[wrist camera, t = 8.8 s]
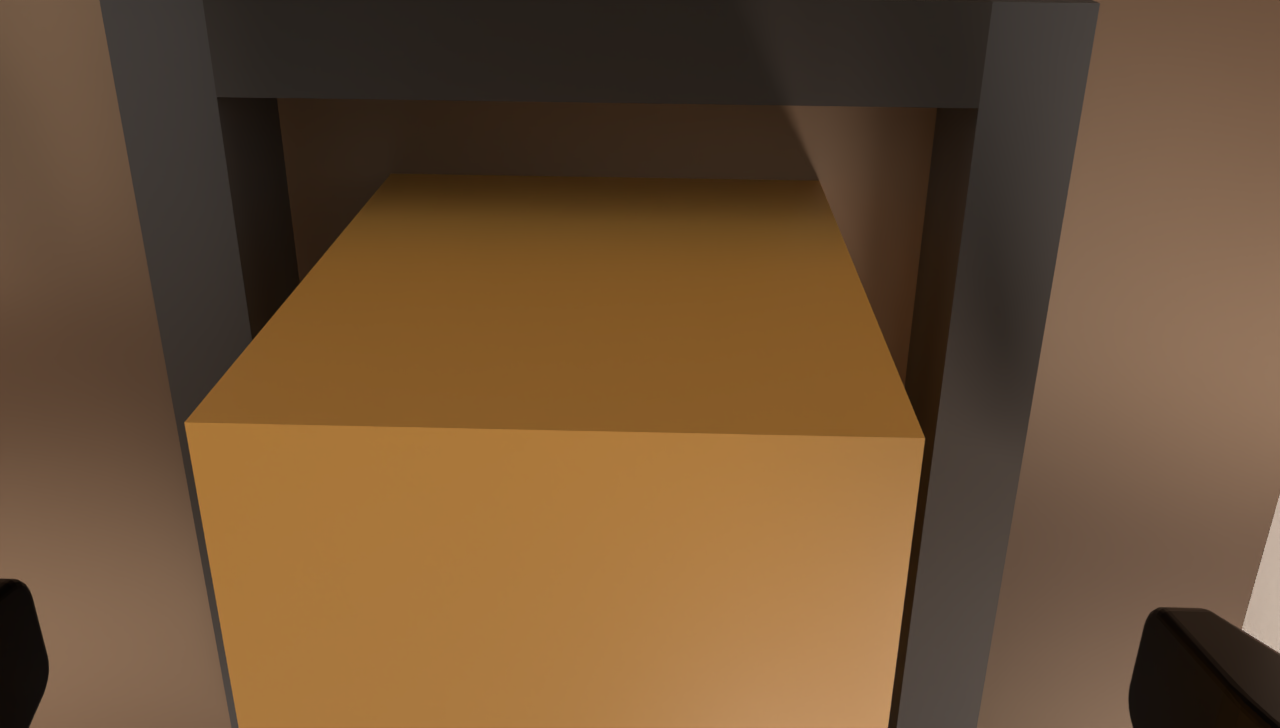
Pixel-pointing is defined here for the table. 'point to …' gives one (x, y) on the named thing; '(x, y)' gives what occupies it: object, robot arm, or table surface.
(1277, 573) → the table surface
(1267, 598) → the table surface
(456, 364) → the tan cardboard box
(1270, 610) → the table surface
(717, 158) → the end holder
